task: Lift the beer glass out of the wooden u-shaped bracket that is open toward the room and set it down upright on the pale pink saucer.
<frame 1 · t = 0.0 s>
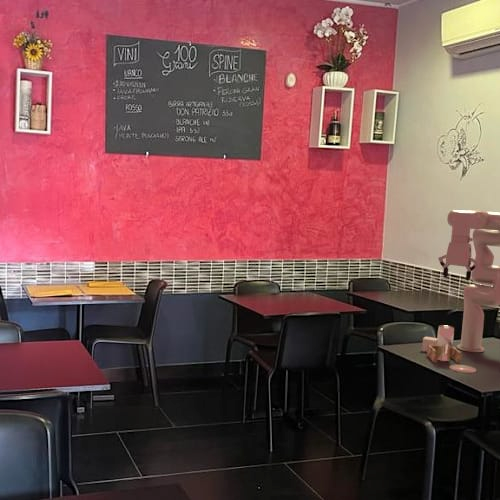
hand: (456, 278, 300), 37 cm above the table, tool pointing down, fingers open, 9 cm apart
beer glass: (443, 360, 307), on the table
wooden u-shaped bracket: (443, 359, 307), on the table
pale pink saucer: (462, 369, 292), on the table
pale pink cube: (429, 351, 323), on the table
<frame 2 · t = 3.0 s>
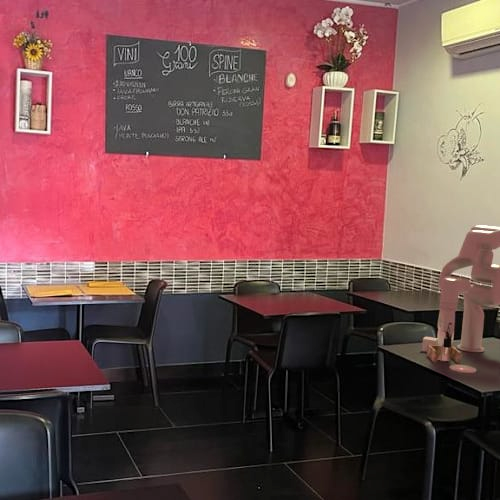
hand: (444, 345, 306), 7 cm above the table, tool pointing down, fingers closed on beer glass, 6 cm apart
beer glass: (443, 360, 307), on the table, touching gripper
everything else where it was.
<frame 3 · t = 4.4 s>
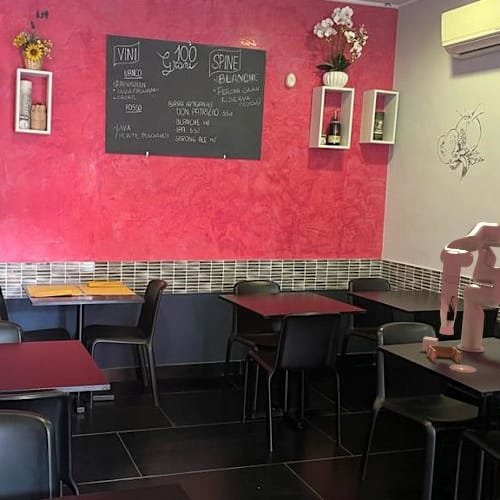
hand: (447, 318, 305), 19 cm above the table, tool pointing down, fingers closed on beer glass, 6 cm apart
beer glass: (446, 333, 306), point 12 cm above the table, touching gripper
everything else where it was.
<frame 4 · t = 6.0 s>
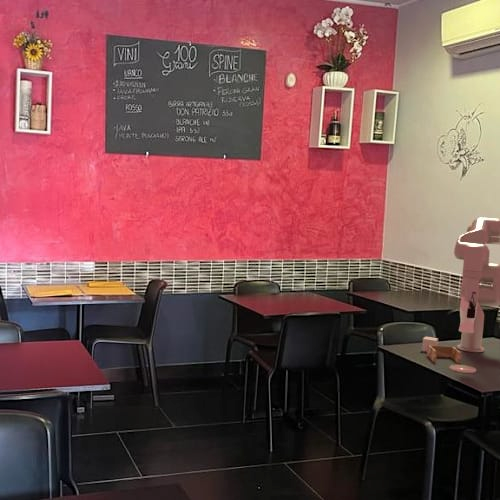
hand: (467, 315, 290), 23 cm above the table, tool pointing down, fingers closed on beer glass, 6 cm apart
beer glass: (466, 331, 290), point 16 cm above the table, touching gripper
everything else where it was.
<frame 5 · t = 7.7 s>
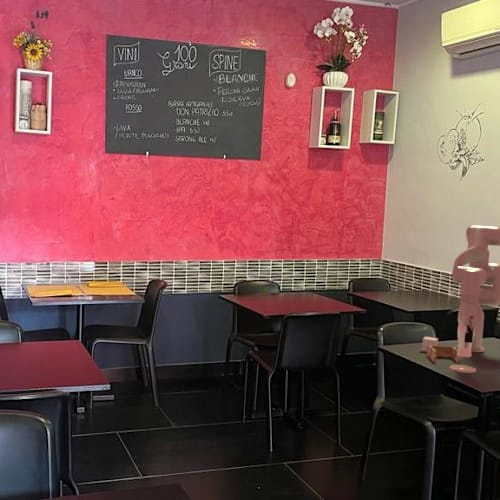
hand: (465, 339, 291), 13 cm above the table, tool pointing down, fingers closed on beer glass, 6 cm apart
beer glass: (463, 355, 291), point 6 cm above the table, touching gripper
everything else where it was.
when the fingers open (8 cm above the table, at t = 9.2 s): beer glass stays where it is, resting on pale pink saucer.
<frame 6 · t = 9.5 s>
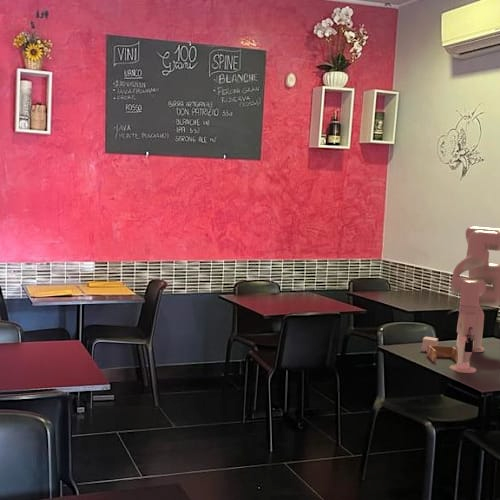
hand: (464, 349, 291), 9 cm above the table, tool pointing down, fingers open, 9 cm apart
beer glass: (462, 368, 292), resting on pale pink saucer
everything else where it was.
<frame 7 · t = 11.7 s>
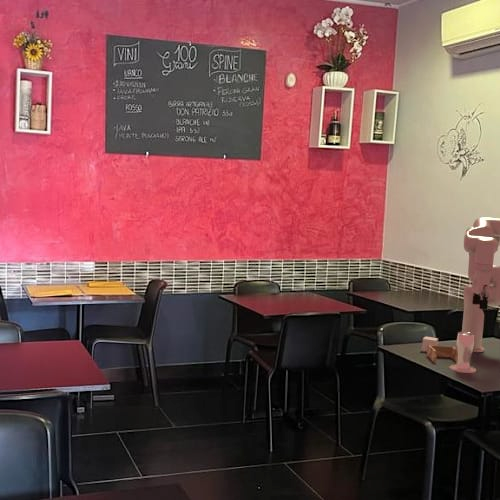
hand: (479, 306, 296), 26 cm above the table, tool pointing down, fingers open, 9 cm apart
nothing on the table moved.
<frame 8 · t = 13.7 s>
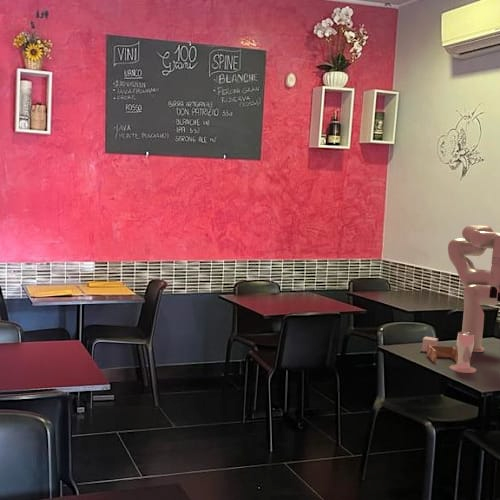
hand: (496, 299, 306), 28 cm above the table, tool pointing down, fingers open, 9 cm apart
nothing on the table moved.
at the end: beer glass 0.2 cm from the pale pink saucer (horizontally); beer glass resting on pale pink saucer; beer glass tilted 0° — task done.
